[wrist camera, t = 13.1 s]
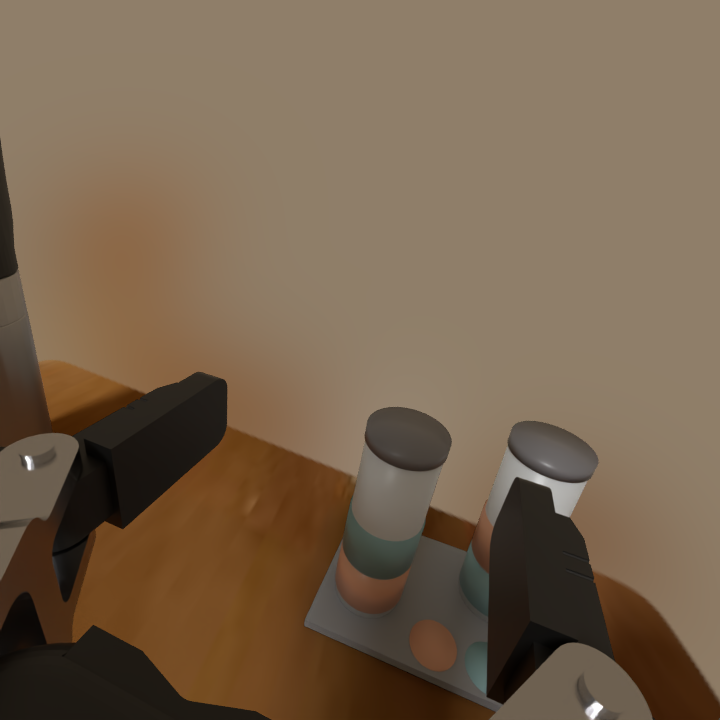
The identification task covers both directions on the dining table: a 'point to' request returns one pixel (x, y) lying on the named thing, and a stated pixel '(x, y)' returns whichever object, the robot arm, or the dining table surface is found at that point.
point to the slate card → (417, 625)
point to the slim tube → (389, 508)
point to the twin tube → (536, 464)
